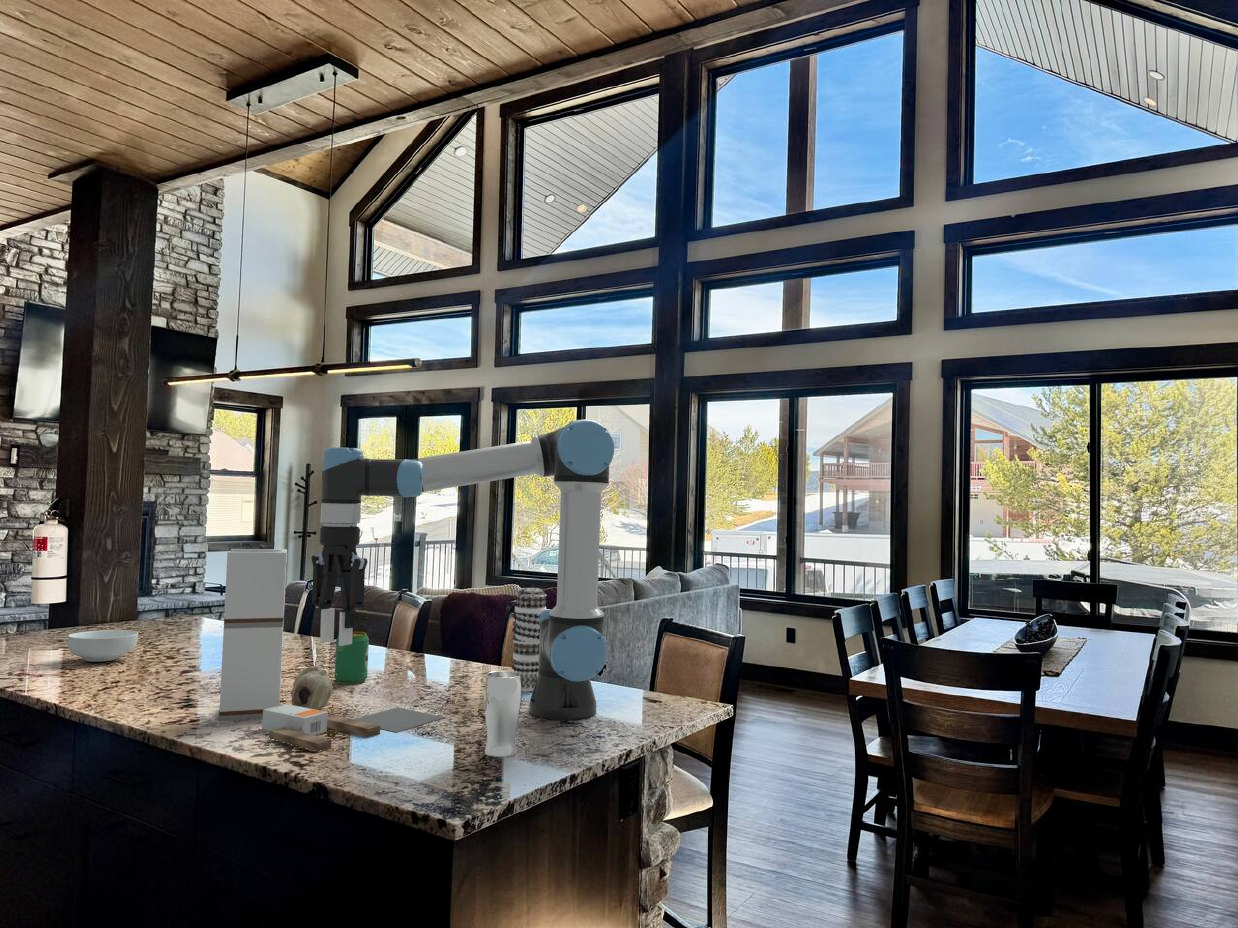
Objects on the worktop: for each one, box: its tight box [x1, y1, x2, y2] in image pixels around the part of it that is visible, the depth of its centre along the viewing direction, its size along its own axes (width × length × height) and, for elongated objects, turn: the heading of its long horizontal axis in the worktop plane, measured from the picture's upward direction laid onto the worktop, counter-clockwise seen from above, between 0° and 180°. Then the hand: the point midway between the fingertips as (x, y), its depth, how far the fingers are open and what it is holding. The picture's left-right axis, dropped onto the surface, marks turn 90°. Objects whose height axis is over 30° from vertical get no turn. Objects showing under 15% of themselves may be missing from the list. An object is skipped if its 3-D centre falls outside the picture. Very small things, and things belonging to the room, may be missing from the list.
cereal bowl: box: [66, 629, 139, 662], centre depth 229 cm, size 17×17×7 cm
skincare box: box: [261, 703, 328, 736], centre depth 165 cm, size 6×4×12 cm
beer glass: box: [483, 670, 522, 758], centre depth 154 cm, size 7×7×15 cm
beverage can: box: [334, 631, 370, 685], centre depth 211 cm, size 8×8×12 cm
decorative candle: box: [511, 587, 548, 692], centre depth 209 cm, size 9×9×25 cm
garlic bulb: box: [290, 665, 333, 711], centre depth 179 cm, size 10×8×10 cm
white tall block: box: [218, 548, 288, 722], centre depth 178 cm, size 11×11×35 cm
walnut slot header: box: [268, 714, 381, 752], centre depth 161 cm, size 14×15×2 cm
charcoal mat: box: [353, 706, 446, 734], centre depth 174 cm, size 14×14×1 cm
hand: (336, 642), depth 162 cm, fingers open, 5 cm apart
